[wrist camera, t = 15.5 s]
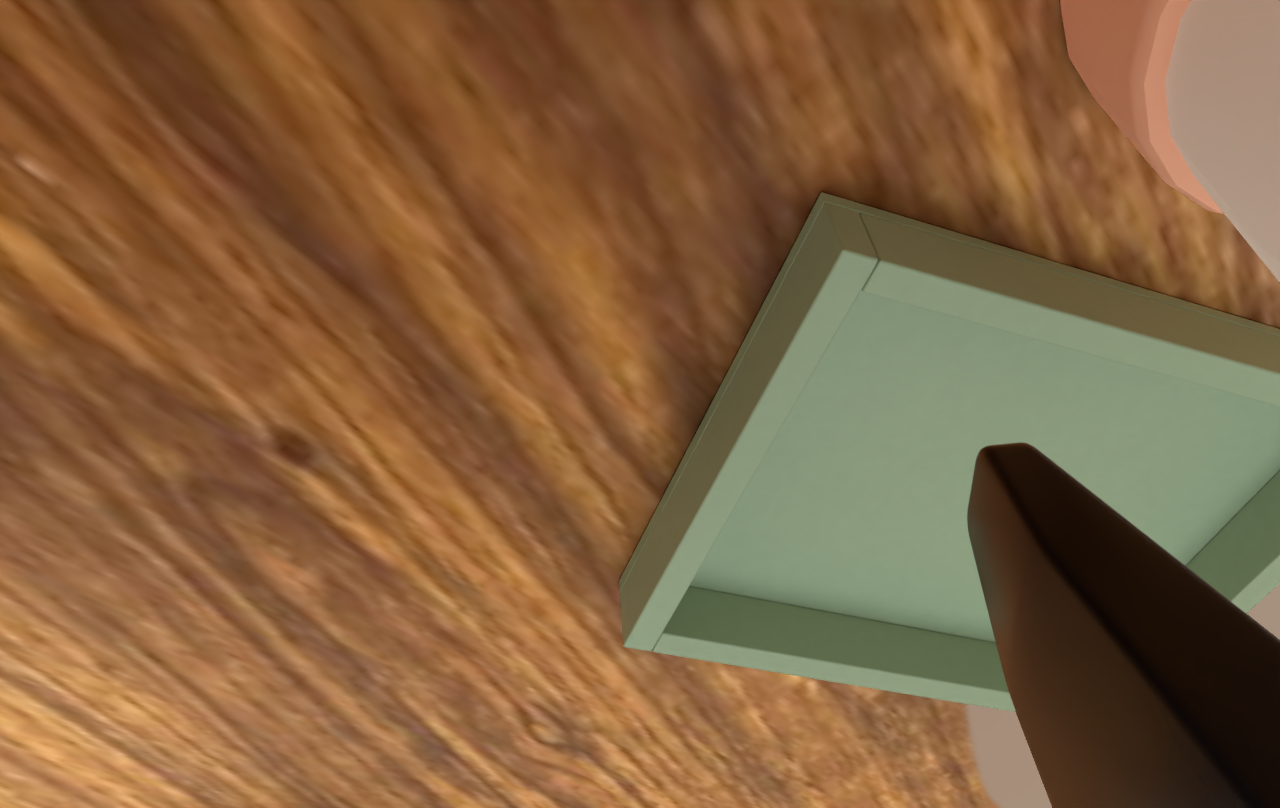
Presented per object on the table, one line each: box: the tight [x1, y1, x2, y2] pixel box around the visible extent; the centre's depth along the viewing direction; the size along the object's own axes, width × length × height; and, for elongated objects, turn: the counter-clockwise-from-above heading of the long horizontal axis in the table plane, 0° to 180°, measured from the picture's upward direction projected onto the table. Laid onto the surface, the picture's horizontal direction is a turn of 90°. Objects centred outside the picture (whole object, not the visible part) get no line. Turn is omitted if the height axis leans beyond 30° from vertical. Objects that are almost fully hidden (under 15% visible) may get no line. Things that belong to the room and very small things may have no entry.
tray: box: [619, 192, 1280, 712], centre depth 28 cm, size 16×13×2 cm
